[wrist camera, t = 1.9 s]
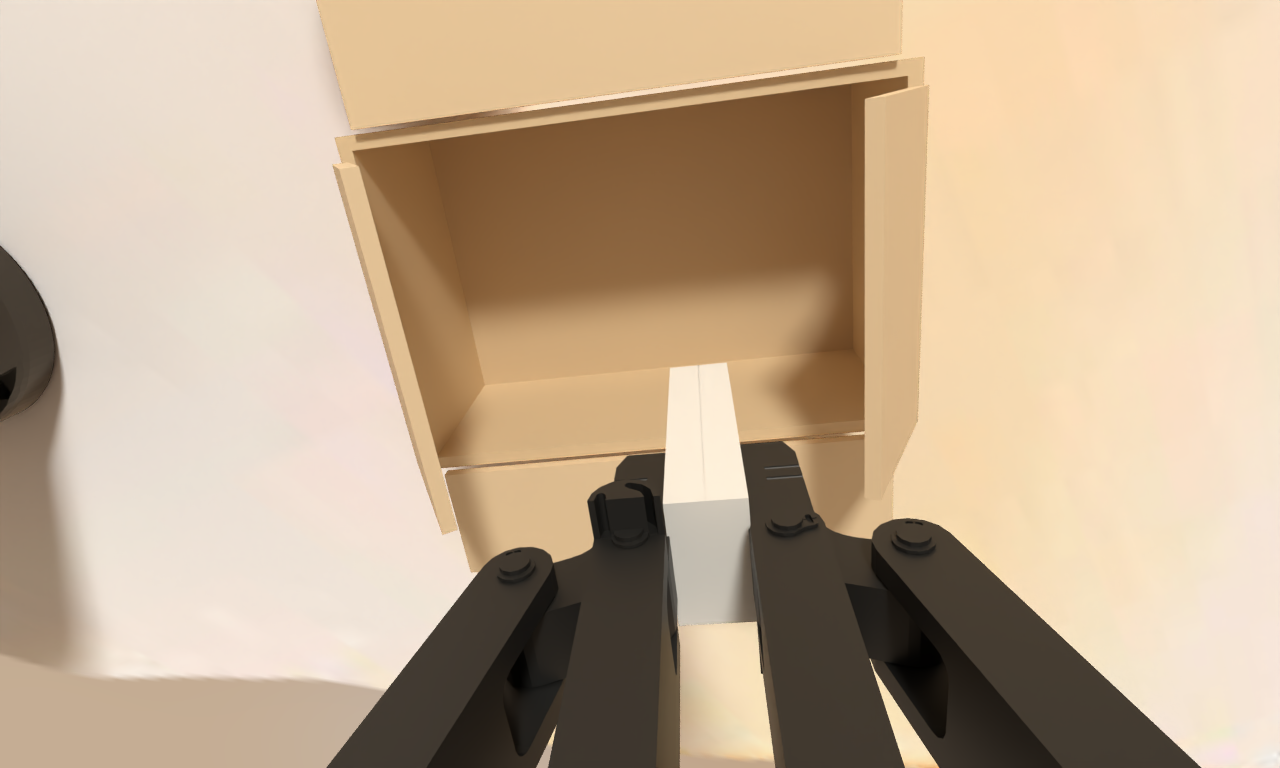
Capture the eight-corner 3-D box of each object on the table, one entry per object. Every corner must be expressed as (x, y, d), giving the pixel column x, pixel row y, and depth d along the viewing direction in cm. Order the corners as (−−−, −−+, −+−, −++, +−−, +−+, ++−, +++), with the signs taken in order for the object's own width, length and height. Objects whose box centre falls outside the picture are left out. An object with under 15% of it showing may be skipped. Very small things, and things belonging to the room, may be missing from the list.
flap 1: (417, 464, 33) (442, 534, 27) (332, 164, 28) (338, 169, 22) (430, 460, 33) (457, 529, 27) (347, 162, 28) (358, 166, 22)
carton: (499, 474, 46) (452, 573, 36) (388, 1, 35) (280, -35, 26) (862, 443, 44) (914, 540, 34) (862, -73, 33) (938, -143, 23)
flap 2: (904, 418, 31) (864, 498, 26) (912, 86, 26) (864, 98, 20) (917, 420, 31) (880, 501, 25) (929, 85, 25) (885, 96, 20)
